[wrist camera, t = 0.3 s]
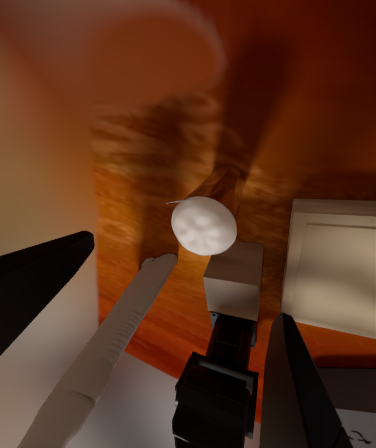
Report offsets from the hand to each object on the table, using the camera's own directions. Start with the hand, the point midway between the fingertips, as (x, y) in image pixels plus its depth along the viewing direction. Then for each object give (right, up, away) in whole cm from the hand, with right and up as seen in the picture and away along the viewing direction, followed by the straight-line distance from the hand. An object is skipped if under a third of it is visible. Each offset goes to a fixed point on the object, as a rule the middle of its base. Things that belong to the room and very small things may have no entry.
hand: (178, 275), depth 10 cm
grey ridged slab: (-4, -4, +23) cm, 23 cm away
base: (+16, -2, +11) cm, 20 cm away
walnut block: (+7, -2, +16) cm, 17 cm away
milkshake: (+4, +7, +11) cm, 14 cm away
